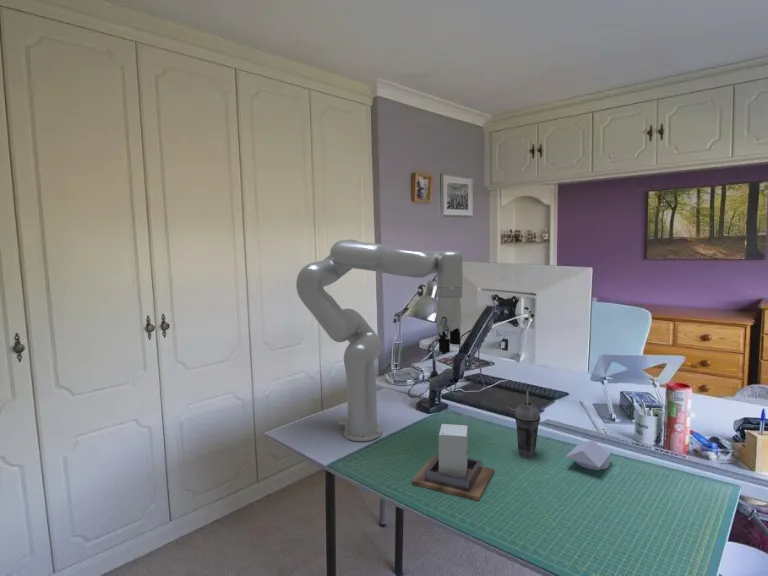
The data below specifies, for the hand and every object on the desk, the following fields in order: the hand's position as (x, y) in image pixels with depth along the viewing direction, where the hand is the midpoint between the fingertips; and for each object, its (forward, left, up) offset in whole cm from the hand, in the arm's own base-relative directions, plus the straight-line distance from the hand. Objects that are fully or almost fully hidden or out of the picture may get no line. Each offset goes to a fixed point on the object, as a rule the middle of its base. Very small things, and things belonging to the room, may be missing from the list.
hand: (449, 347), depth 146 cm
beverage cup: (+23, +2, -31) cm, 38 cm away
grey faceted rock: (+40, +3, -31) cm, 50 cm away
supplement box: (+8, -20, -30) cm, 36 cm away
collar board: (+8, -20, -30) cm, 37 cm away
